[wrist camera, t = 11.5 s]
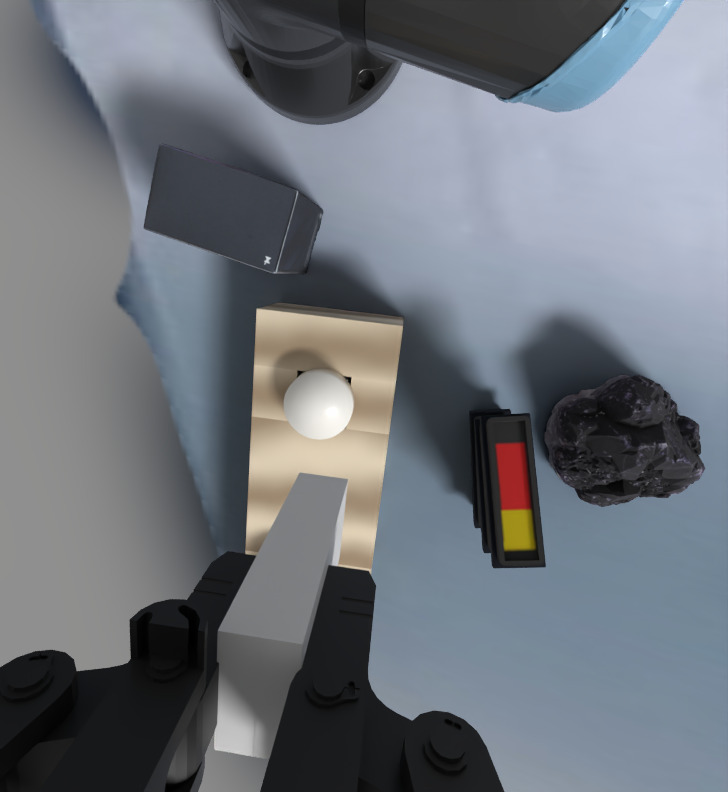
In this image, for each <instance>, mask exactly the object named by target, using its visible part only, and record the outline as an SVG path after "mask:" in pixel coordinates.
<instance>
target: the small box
mask: <svg viewBox="0 0 728 792" xmlns="http://www.w3.org/2000/svg"><path fill="white" fill-rule="evenodd" d="M322 214H323V210H322V209H321V208H320V207H318V206H317V205H316V204H314V203H313V202H312V201H310V200H309V199H308V198H306V197H305V196H304V195H303V194H301V193H300V192H299V191H298V190H296V189H293V188H291V187H288V186H285V185H283V184H280V183H277V182H274V181H272V180H269V179H266V178H263V177H261V176H258V175H255V174H252V173H250V172H247V171H245V170H242V169H239V168H236V167H233V166H230V165H226V164H223V163H220V162H217V161H214V160H211V159H208V158H205V157H202V156H199V155H196V154H193V153H190V152H187V151H184V150H181V149H178V148H175V147H172V146H168V145H165V144H160V146H159V150H158V154H157V158H156V164H155V169H154V174H153V179H152V184H151V190H150V195H149V200H148V206H147V211H146V217H145V222H144V229H146V230H149V231H151V232H154V233H157V234H160V235H163V236H165V237H168V238H171V239H174V240H177V241H180V242H183V243H186V244H188V245H191V246H194V247H197V248H200V249H203V250H206V251H209V252H212V253H214V254H217V255H220V256H223V257H226V258H229V259H232V260H235V261H238V262H241V263H243V264H246V265H249V266H252V267H255V268H258V269H261V270H264V271H267V272H270V273H273V274H289V273H294V274H295V273H296V274H305V273H307V269H308V266H309V260H310V259H311V257H310V256H311V253H312V249H313V245H314V242H315V240H316V236H317V232H318V231H319V227H320V223H321V218H322Z"/></svg>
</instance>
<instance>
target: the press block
mask: <svg viewBox="0 0 728 792" xmlns="http://www.w3.org/2000/svg"><path fill="white" fill-rule="evenodd" d="M403 320H404V317H399V316H390V315H382V314H373V313H365V312H356V311H348V310H340V309H331V308H323V307H314V306H306V305H298V304H289V303H281V302H278V303H275V304H271V305H268V306H264V307H261V308H257V314H256V335H255V357H254V378H253V400H252V421H251V442H250V464H249V485H248V507H247V528H246V550H245V554H249V555H256V556H257V554H258V552H259V550H260V548H261V546H262V544H263V542H264V540H265V538H266V537H267V535H268V533H269V531H270V529H271V527H272V525H273V523H274V521H275V519H276V517H277V515H278V513H279V511H280V509H281V508H282V506H283V504H284V502H285V500H286V498H287V496H288V494H289V492H290V490H291V488H292V486H293V484H294V482H295V480H296V479H297V477H298V475H299V473H308V474H315V475H322V476H329V477H337V478H344V479H348V485H347V494H346V504H345V513H344V522H343V531H342V540H341V549H340V558H339V562H338V566H340V567H346V568H353V569H360V570H367V571H369V572H370V574H371V568H372V560H373V553H374V545H375V538H376V530H377V522H378V515H379V507H380V499H381V492H382V484H383V476H384V469H385V461H386V453H387V446H388V438H389V430H390V423H391V415H392V408H393V400H394V392H395V385H396V377H397V369H398V362H399V354H400V346H401V339H402V331H403ZM314 368H327V369H331V370H334V371H336V372H338V373H339V374H341V375H342V376H347V377H352V378H351V387H352V390H353V392H354V398H355V405H354V410H353V413H352V415H351V418H350V421H349V423H348V424H347V426H346V427H345V428H344V430H343V431H341V432H340V433H339V434H337V435H336V436H334V437H331V438H328V439H321V440H318V439H311V438H308V437H305V436H303V435H301V434H300V433H298V432H297V431H296V430H295V429H294V428H293V427H292V426H291V425H290V424H289V422H288V420H287V418H286V416H285V412H284V397H285V394H286V391H287V389H288V388H289V386H290V385H291V384H292V383H293V382H294V381H295V380H296V378H297V377H299V376H300V374H301V373H302V372H303V371H307V370H310V369H314Z"/></svg>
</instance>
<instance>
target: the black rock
mask: <svg viewBox="0 0 728 792" xmlns="http://www.w3.org/2000/svg"><path fill="white" fill-rule="evenodd" d="M546 428H547V431H546V432H545V443H546V445H547V446H548V449H549V463H550V465H551V467H553V468H554V469H555V470H556V473H557V475H558V476H559V478H560V479H562V480H563V481H564V482H565V483H566V484H568V485H570V486H571V487H573V488H575V490H576V492H577V495H578V497H579V498H580V499H581V500H583V501H585V502H588V503H590V504H593V505H599V506H601V507H603V506H609V505H612V504H615V505H617V504H620V503H626V502H629V501H631V500H633V499H634V498H636V497H638V496H639V497H657V498H668V497H669V496H670V495H671V494H678V493H680V492H683V491H684V490H685V489H687V487H688V486H689V485H690V484H693V483H694V482H695V481H697V480H699V478H700V477H701V475H702V473H703V471H704V470H705V467H704V464H703V463H702V461H701V459H700V457H699V456H698V455H700V454H701V445H700V441H699V439H700V436H699V425H698V424H697V423H696V422H695V421H693V420H692V419H690V418H688V417H685V416H679V414H678V413H677V404H676V403H675V402H674V401H673V400H672V399H670V394H669V393H667V392H666V391H664V390H663V388H662V386H661V385H660V384H657V383H655V382H654V381H652V380H650V379H648V378H645V377H643V376H641V375H636V376H633V377H630V376H627V375H619V376H617V377H614V378H610V379H608V380H607V381H606V382H605V383H604V384H603V385H601V386H599V387H597V388H595V389H588V390H581V391H580V392H579V394H572V395H568V396H566V397H564V398H563V399H562V400H560V401H559V402H558V403H557V404H556V405H555V407H554V409H553V410H552V416H551V417H550V418H549V420H548V423H547V426H546Z"/></svg>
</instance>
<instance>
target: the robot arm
mask: <svg viewBox="0 0 728 792" xmlns="http://www.w3.org/2000/svg"><path fill="white" fill-rule="evenodd" d="M213 1H214V2H215V4H216V5H217V6H218V8H219V10H220V17H221V25H222V30H223V34H224V38H225V42H226V45H227V48H228V50H229V53H230V55H231V58H232V60H233V62H234V64H235V66H236V68H237V69H238V71H239V73H240V74H241V76H242V77H243V79H244V80H245V82H246V83H247V84H248V85H249V87H250V88H251V89H252V90H253V91H254V92H255V93H256V95H257V96H258V97H259V98H260V99H261V100H262V101H263V102H264V103H265V104H267V105H268V106H269V107H270V108H272V109H273V110H274V111H276V112H278V113H279V114H281V115H283V116H285V117H287V118H289V119H292V120H295V121H298V122H302V123H307V124H317V125H321V124H332V123H337V122H341V121H344V120H347V119H349V118H352V117H354V116H356V115H358V114H359V113H361V112H363V111H364V110H366V109H367V108H368V107H370V106H371V105H372V104H373V103H375V102H376V101H377V100H378V99H379V98H380V97H381V96H382V94H383V93H384V92H385V91H386V90H387V88H388V87H389V86H390V84H391V83H392V81H393V80H394V78H395V76H396V75H397V73H398V71H399V69H400V67H401V64H402V62H404V63H407V64H410V65H413V66H416V67H418V68H421V69H424V70H427V71H430V72H433V73H435V74H438V75H441V76H444V77H447V78H450V79H452V80H455V81H458V82H461V83H464V84H467V85H469V86H472V87H475V88H478V89H481V90H484V91H486V92H489V93H492V94H495V96H496V97H497V98H498V99H499V100H501V101H503V102H506V103H507V102H511V103H517V102H522V103H525V104H528V105H532V106H535V107H539V108H542V109H546V110H549V111H553V112H564V111H572V110H576V109H580V108H582V107H584V106H586V105H588V104H590V103H591V102H593V101H595V100H596V99H598V98H599V97H600V96H602V95H603V94H604V93H605V92H607V91H608V90H609V89H610V88H611V87H612V86H614V85H615V84H616V83H617V82H618V81H619V80H620V79H621V78H622V77H623V76H624V75H625V74H626V73H627V72H628V71H629V69H630V68H631V67H632V66H633V65H634V64H635V63H636V62H637V61H638V59H639V58H640V57H641V56H642V55H643V54H644V52H645V51H646V50H647V49H648V47H649V46H650V45H651V44H652V43H653V41H654V40H655V39H656V38H657V36H658V35H659V34H660V32H661V31H662V30H663V28H664V27H665V26H666V24H667V23H668V22H669V20H670V19H671V18H672V16H673V15H674V14H675V12H676V11H677V9H678V8H679V7H680V5H681V4H682V2H683V1H684V0H213ZM347 485H348V479H344V478H337V477H329V476H322V475H315V474H308V473H299V475H298V477H297V479H296V480H295V482H294V484H293V486H292V488H291V490H290V492H289V494H288V496H287V498H286V500H285V502H284V504H283V506H282V508H281V509H280V511H279V513H278V515H277V517H276V519H275V521H274V523H273V525H272V527H271V529H270V531H269V533H268V535H267V537H266V538H265V540H264V542H263V544H262V546H261V548H260V550H259V552H258V554H257V556H256V555H249V554H242V553H235V552H229V551H228V552H226V553H225V554H223V555H222V556H220V557H219V558H218V559H216V560H215V561H213V562H212V563H211V564H210V566H209V567H208V569H207V571H206V572H205V573H204V575H203V576H202V579H201V580H200V581H199V583H198V584H197V586H196V587H195V589H194V592H193V593H191V595H190V596H189V598H188V599H187V600H180V599H170V600H165V601H161V602H156V603H153V604H151V605H149V606H147V607H145V608H144V609H141V610H140V611H139V612H138V613H137V614H136V615H134V616H133V617H132V618H131V619H130V646H131V659H130V661H129V662H128V663H126V664H124V665H120V666H115V667H110V668H102V669H94V670H85V671H76V667H75V663H74V659H73V658H71V657H70V656H69V655H68V654H66V653H65V652H60V651H55V650H45V651H35V652H32V653H29V654H26V655H24V656H20V657H17V658H15V659H14V660H12V661H10V662H9V663H7V664H5V665H3V666H2V667H0V792H198V790H199V787H200V785H201V782H202V777H203V772H204V763H205V753H206V750H207V747H208V745H209V743H210V740H211V738H212V736H213V733H214V731H215V739H214V750H219V751H224V752H230V753H236V754H242V755H248V756H253V757H259V758H265V759H269V762H268V766H267V769H266V773H265V777H264V780H263V784H262V787H261V791H260V792H504V790H503V787H502V785H501V782H500V780H499V777H498V775H497V772H496V770H495V767H494V765H493V762H492V760H491V757H490V755H489V752H488V750H487V747H486V745H485V744H484V742H483V740H482V739H481V737H480V735H479V734H478V732H477V731H476V730H475V729H474V728H473V727H472V726H471V725H469V724H468V723H467V722H466V721H465V720H464V719H462V718H460V717H457V716H455V715H453V714H451V713H449V712H441V711H431V712H427V713H423V714H420V715H419V716H418V717H416V718H415V719H414V720H413V721H411V720H409V719H407V718H405V717H403V716H401V715H399V714H397V713H396V712H394V711H392V710H391V709H389V708H388V707H386V706H385V705H384V704H383V703H382V702H381V701H380V700H379V699H378V698H377V697H376V695H375V694H374V692H373V690H372V689H371V686H370V683H369V680H368V663H369V652H370V642H371V631H372V621H373V611H374V600H375V590H376V585H375V583H374V581H373V579H372V577H371V574H370V572H369V571H367V570H360V569H353V568H346V567H340V566H338V562H339V558H340V549H341V540H342V531H343V522H344V513H345V504H346V494H347Z"/></svg>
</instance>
